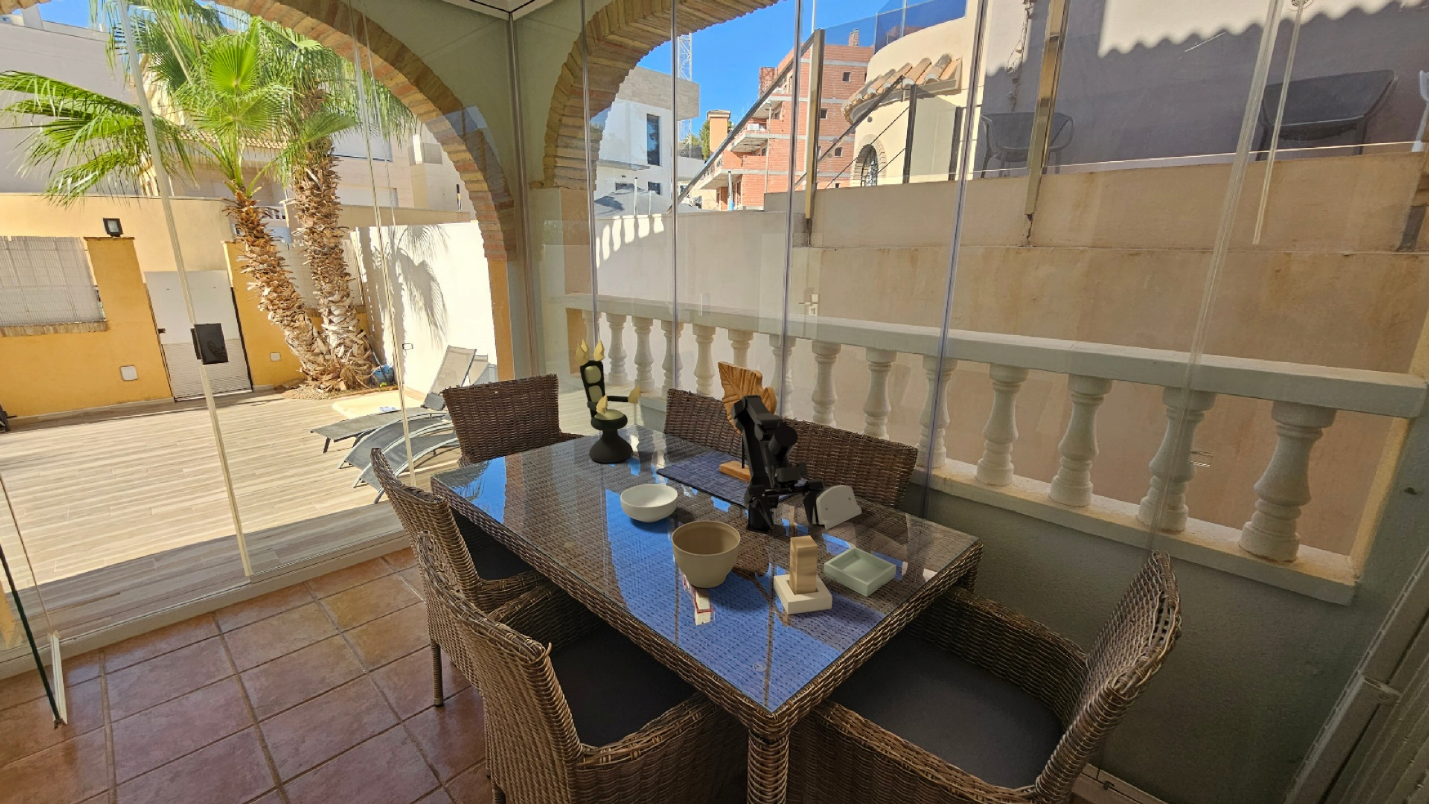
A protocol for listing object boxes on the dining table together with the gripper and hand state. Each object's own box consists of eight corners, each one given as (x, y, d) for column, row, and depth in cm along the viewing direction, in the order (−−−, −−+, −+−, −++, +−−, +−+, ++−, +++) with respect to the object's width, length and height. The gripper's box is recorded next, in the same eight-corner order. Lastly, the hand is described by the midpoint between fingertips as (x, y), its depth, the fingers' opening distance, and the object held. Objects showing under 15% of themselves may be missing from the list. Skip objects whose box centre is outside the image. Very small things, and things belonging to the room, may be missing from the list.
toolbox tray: (823, 574, 131) (824, 563, 130) (852, 556, 138) (853, 546, 137) (866, 597, 122) (867, 585, 121) (895, 576, 129) (896, 565, 129)
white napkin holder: (826, 529, 152) (818, 495, 152) (813, 529, 156) (806, 495, 156) (862, 512, 162) (855, 479, 162) (850, 512, 166) (842, 480, 166)
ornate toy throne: (610, 469, 197) (603, 346, 185) (568, 457, 209) (558, 341, 197) (644, 453, 212) (639, 339, 200) (603, 443, 224) (596, 334, 212)
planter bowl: (686, 605, 120) (685, 561, 117) (663, 568, 134) (662, 528, 131) (751, 587, 126) (752, 545, 123) (723, 553, 140) (722, 515, 137)
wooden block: (789, 593, 123) (790, 537, 120) (807, 590, 124) (810, 535, 121) (795, 605, 119) (797, 548, 116) (815, 602, 120) (817, 545, 116)
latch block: (773, 587, 126) (774, 576, 125) (814, 582, 127) (815, 571, 127) (787, 614, 116) (788, 602, 115) (831, 608, 118) (832, 596, 117)
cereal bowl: (690, 515, 161) (689, 493, 159) (647, 536, 149) (646, 512, 148) (652, 499, 172) (651, 478, 170) (609, 517, 161) (608, 495, 159)
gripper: (747, 453, 125) (760, 519, 117) (824, 447, 128) (841, 511, 121) (739, 472, 134) (750, 534, 127) (810, 466, 138) (825, 526, 130)
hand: (791, 526), depth 126 cm, fingers open, 9 cm apart
